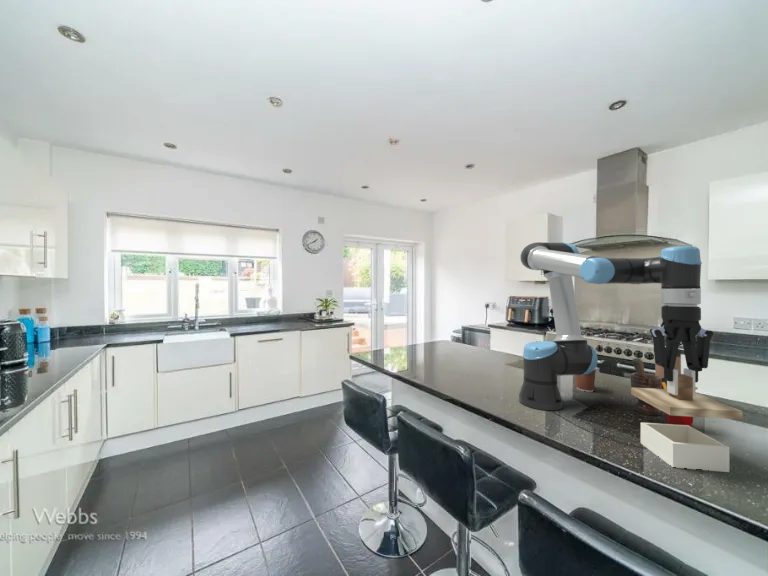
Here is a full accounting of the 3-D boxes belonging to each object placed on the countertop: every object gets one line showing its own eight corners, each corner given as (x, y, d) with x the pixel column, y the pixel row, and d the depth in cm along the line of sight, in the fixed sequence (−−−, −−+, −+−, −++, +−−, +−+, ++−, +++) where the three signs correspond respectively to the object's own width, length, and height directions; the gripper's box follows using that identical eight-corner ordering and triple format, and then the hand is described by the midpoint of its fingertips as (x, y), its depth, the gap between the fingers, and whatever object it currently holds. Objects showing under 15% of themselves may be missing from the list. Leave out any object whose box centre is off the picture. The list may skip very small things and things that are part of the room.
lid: (670, 415, 74) (670, 382, 74) (631, 394, 89) (631, 366, 89) (742, 419, 72) (742, 385, 72) (690, 397, 87) (690, 369, 87)
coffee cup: (570, 389, 134) (570, 362, 134) (576, 384, 140) (576, 358, 140) (594, 394, 127) (594, 366, 127) (600, 389, 133) (600, 362, 133)
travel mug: (683, 399, 122) (683, 349, 122) (678, 403, 118) (678, 351, 118) (658, 393, 129) (658, 346, 129) (652, 397, 124) (652, 348, 124)
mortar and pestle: (662, 421, 101) (662, 362, 101) (629, 414, 107) (629, 358, 107) (661, 411, 110) (661, 356, 110) (631, 405, 116) (631, 352, 116)
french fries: (661, 420, 102) (661, 376, 102) (695, 426, 98) (695, 380, 98) (669, 431, 95) (669, 383, 95) (706, 438, 90) (706, 387, 90)
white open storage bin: (672, 467, 76) (672, 443, 76) (640, 443, 87) (640, 422, 87) (729, 472, 74) (729, 447, 74) (688, 446, 85) (688, 425, 85)
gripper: (655, 305, 78) (656, 397, 78) (730, 306, 76) (730, 400, 76) (636, 304, 86) (637, 387, 86) (703, 304, 83) (704, 390, 83)
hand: (680, 393), depth 81 cm, fingers closed on lid, 3 cm apart
